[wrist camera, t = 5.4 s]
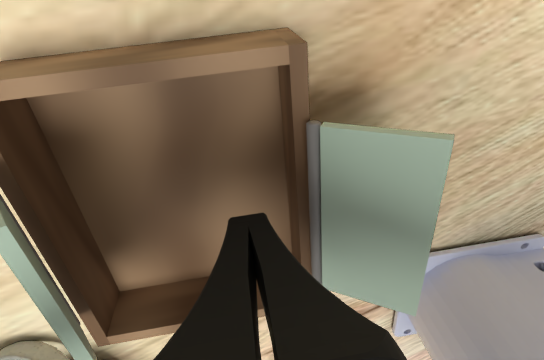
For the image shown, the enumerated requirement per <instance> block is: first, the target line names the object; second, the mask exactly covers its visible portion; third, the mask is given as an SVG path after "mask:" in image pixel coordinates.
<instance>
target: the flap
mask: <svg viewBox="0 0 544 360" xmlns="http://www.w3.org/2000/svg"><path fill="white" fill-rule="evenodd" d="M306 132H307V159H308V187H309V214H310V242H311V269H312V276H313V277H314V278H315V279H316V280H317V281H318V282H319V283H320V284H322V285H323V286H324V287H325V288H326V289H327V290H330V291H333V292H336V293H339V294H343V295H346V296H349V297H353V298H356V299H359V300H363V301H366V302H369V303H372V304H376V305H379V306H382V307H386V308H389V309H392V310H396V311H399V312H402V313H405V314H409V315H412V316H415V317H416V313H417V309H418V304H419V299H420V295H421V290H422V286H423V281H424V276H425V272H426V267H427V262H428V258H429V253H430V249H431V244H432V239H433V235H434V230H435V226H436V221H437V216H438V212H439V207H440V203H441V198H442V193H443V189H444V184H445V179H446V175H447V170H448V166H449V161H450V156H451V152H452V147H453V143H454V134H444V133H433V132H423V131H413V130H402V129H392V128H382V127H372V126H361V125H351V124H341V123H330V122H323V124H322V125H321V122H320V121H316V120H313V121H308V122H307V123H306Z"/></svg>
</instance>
